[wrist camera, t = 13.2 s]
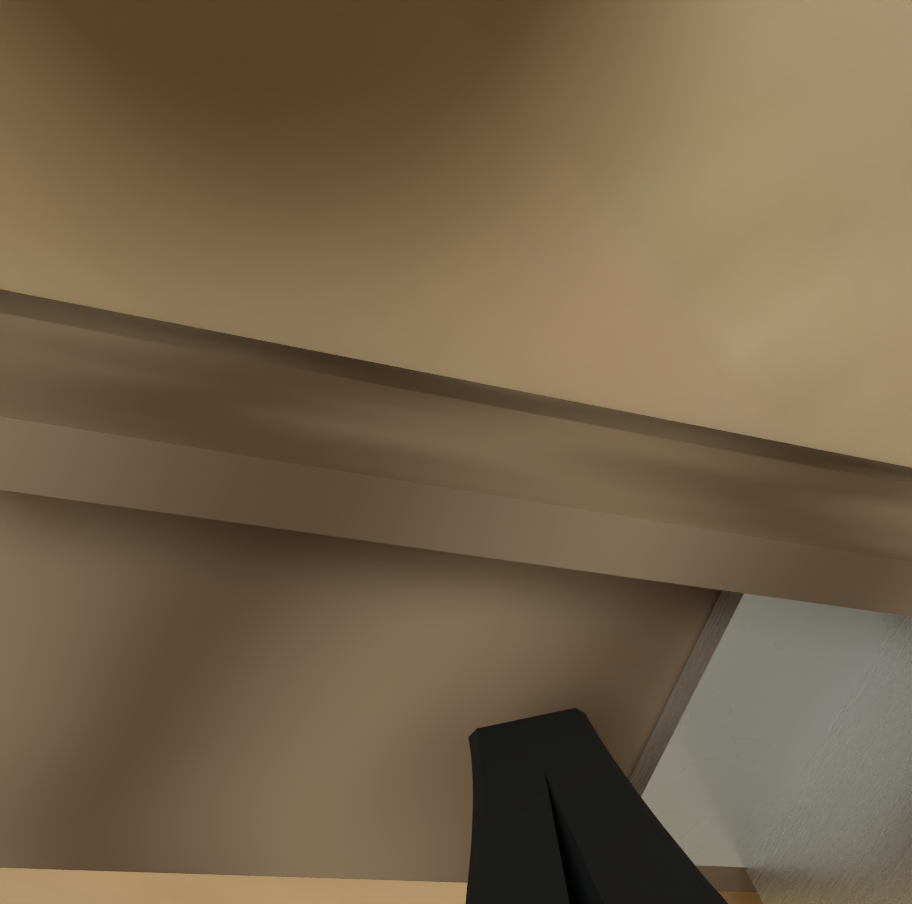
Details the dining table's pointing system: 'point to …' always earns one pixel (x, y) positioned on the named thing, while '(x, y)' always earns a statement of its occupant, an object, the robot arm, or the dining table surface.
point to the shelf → (354, 589)
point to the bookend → (791, 751)
